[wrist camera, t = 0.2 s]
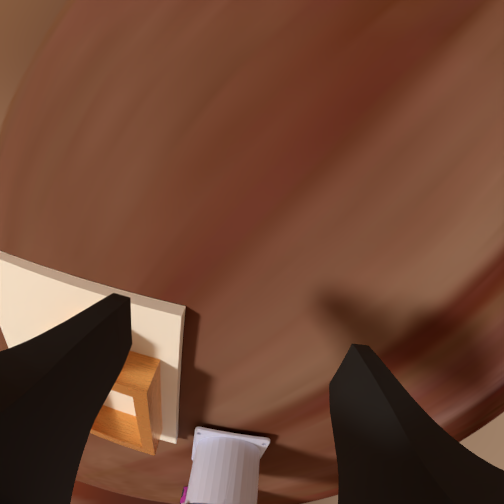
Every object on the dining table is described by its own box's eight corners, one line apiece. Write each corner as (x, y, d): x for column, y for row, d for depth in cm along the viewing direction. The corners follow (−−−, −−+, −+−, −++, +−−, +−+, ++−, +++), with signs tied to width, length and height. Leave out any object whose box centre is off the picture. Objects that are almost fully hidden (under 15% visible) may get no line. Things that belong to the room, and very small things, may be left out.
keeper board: (177, 435, 29) (165, 485, 22) (29, 378, 28) (5, 413, 22) (185, 306, 21) (155, 379, 14) (-14, 245, 20) (-60, 279, 13)
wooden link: (162, 429, 27) (154, 455, 23) (82, 401, 26) (70, 423, 23) (160, 332, 20) (144, 366, 17) (52, 297, 20) (28, 322, 17)
